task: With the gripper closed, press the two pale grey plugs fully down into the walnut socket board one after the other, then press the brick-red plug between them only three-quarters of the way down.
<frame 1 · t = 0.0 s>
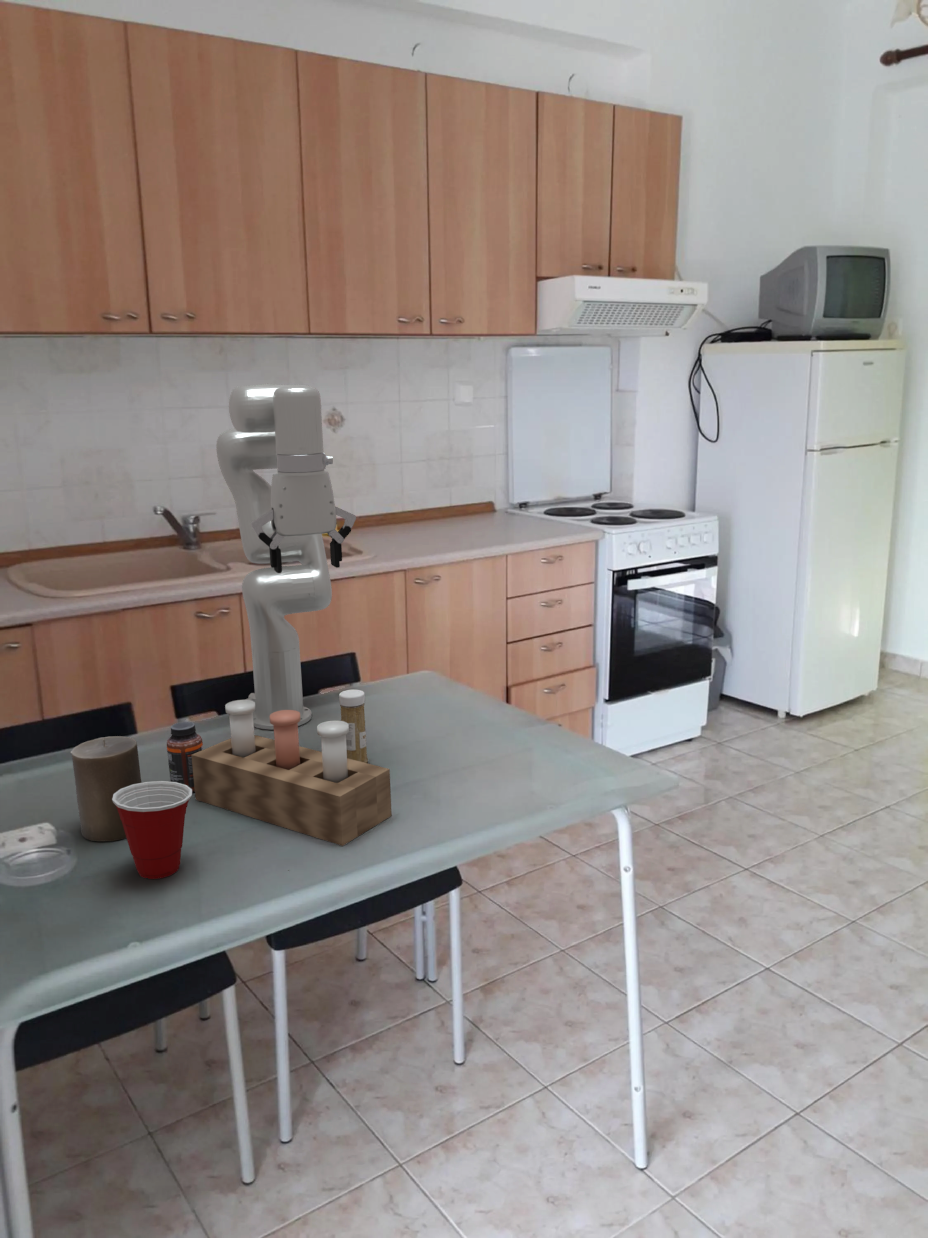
hand: (307, 568, 162), 37 cm above the table, tool pointing down, fingers open, 9 cm apart
sprinkles bottle: (355, 764, 178), on the table
brick plug: (286, 744, 157), point 11 cm above the table, slide at 0.0 cm
socket board: (291, 807, 160), on the table
plastic cup: (160, 870, 141), on the table
supplement bottle: (189, 788, 169), on the table
grey plug 2: (334, 756, 152), point 11 cm above the table, slide at 0.0 cm
pillar candle: (114, 829, 154), on the table
grey plug 1: (242, 733, 163), point 11 cm above the table, slide at 0.0 cm
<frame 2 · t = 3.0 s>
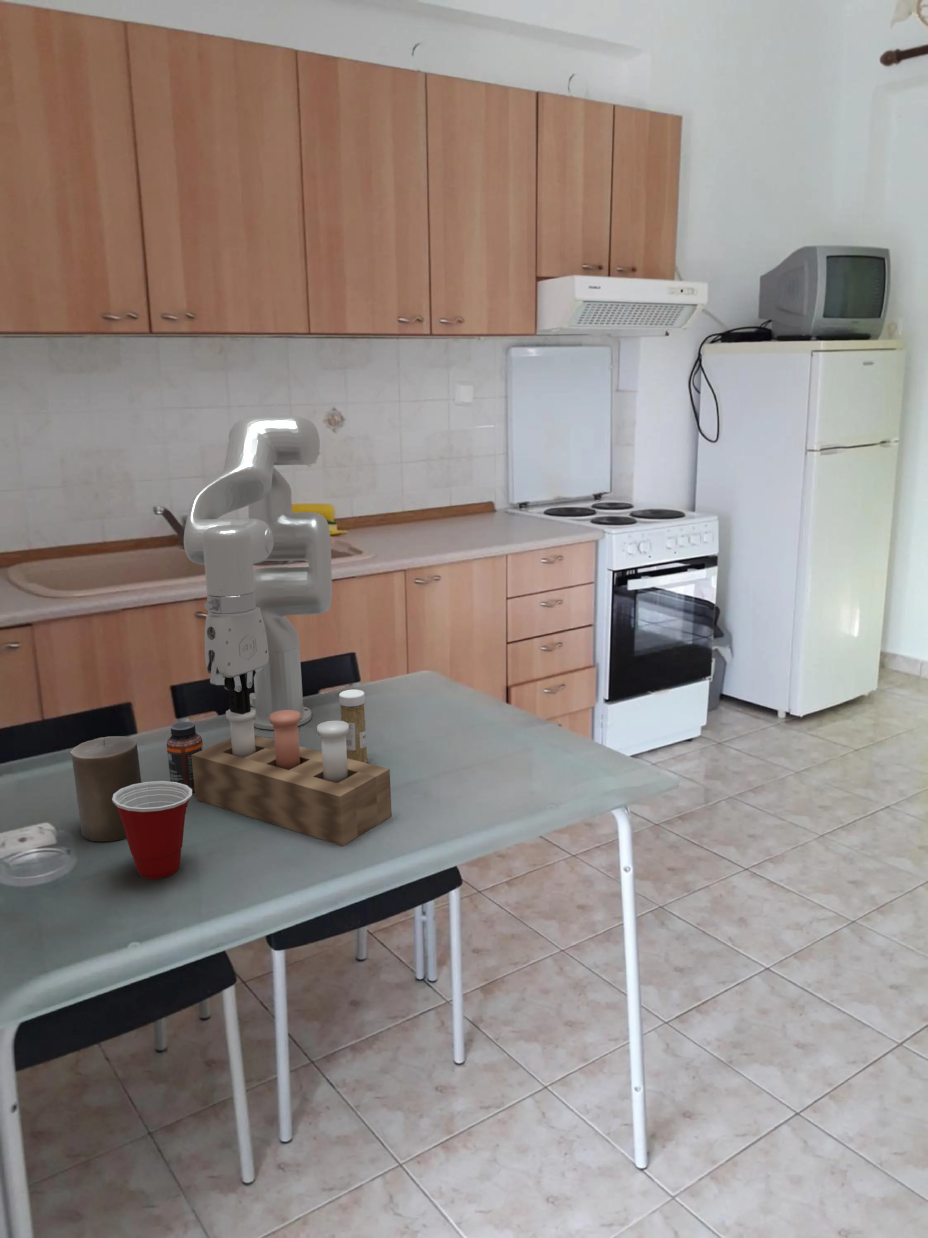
hand: (240, 711, 161), 15 cm above the table, tool pointing down, fingers closed
grey plug 1: (243, 739, 163), point 10 cm above the table, slide at 1.2 cm, touching gripper
everything else where it was.
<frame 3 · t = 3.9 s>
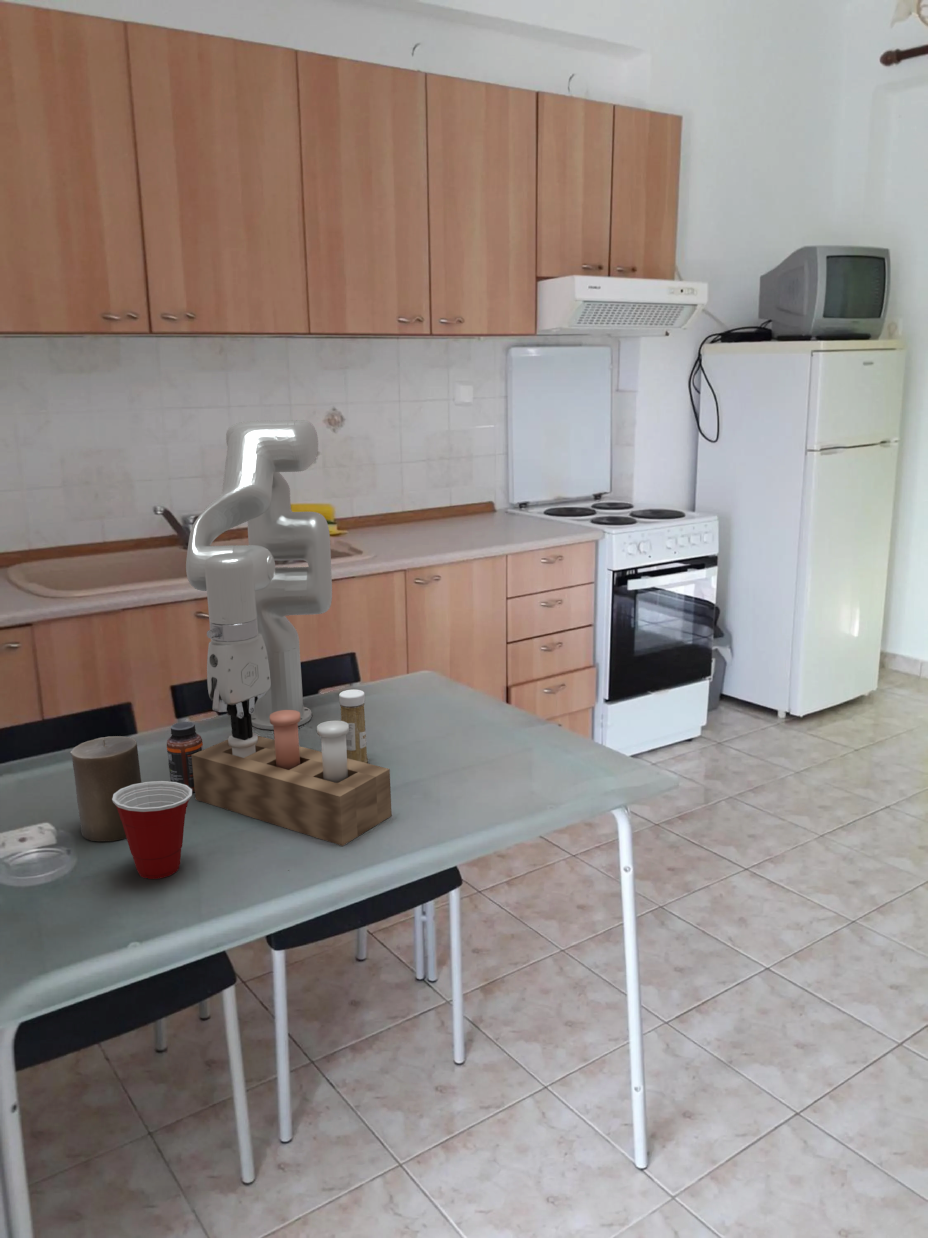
hand: (242, 737, 163), 10 cm above the table, tool pointing down, fingers closed
grey plug 1: (245, 765, 164), point 5 cm above the table, slide at 5.7 cm, touching gripper
everything else where it was.
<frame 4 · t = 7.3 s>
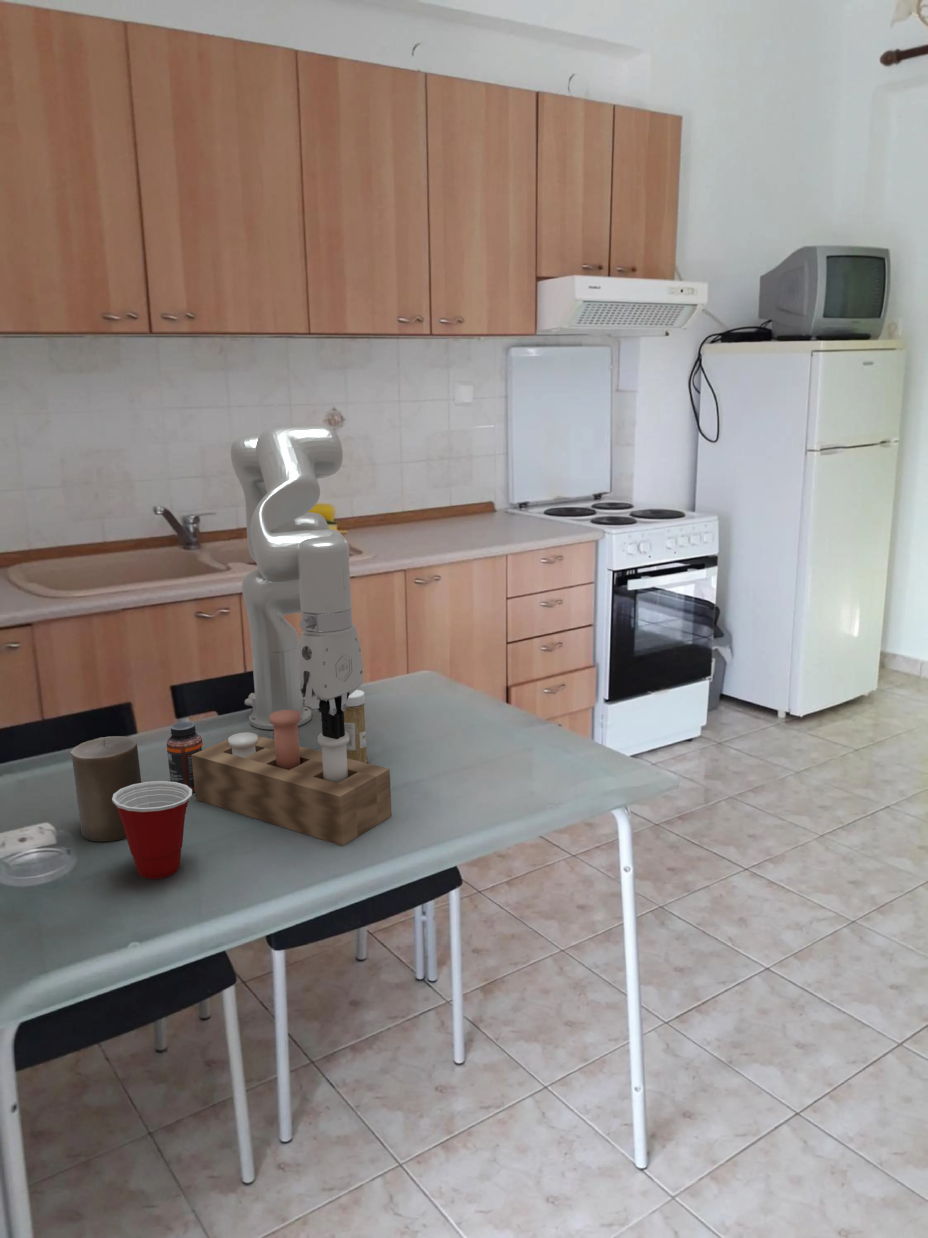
hand: (333, 736, 151), 14 cm above the table, tool pointing down, fingers closed
grey plug 2: (335, 766, 152), point 9 cm above the table, slide at 1.6 cm, touching gripper
grey plug 1: (245, 765, 164), point 5 cm above the table, slide at 5.8 cm
everything else where it was.
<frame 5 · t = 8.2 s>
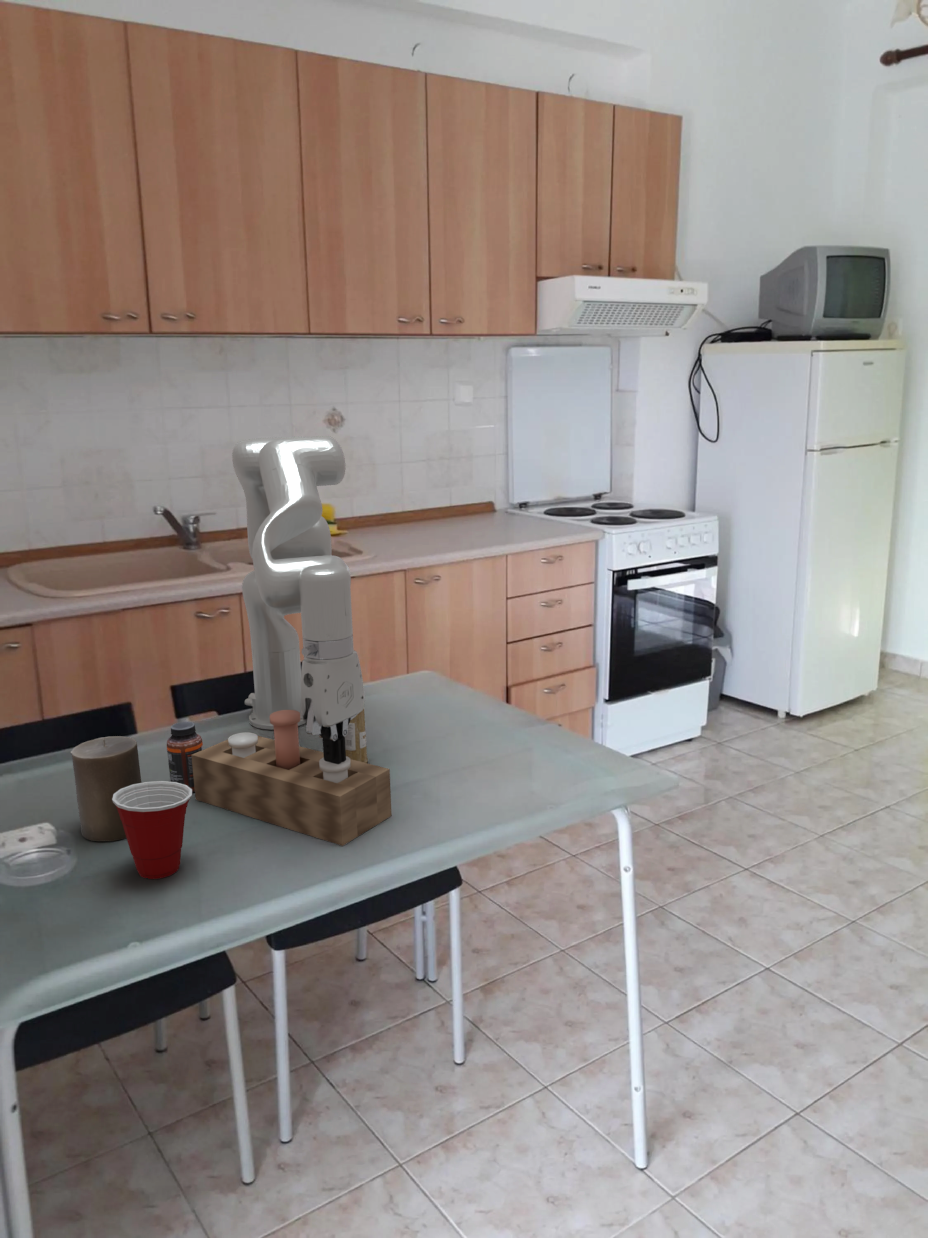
hand: (335, 760, 152), 10 cm above the table, tool pointing down, fingers closed
grey plug 2: (336, 790, 153), point 5 cm above the table, slide at 5.7 cm, touching gripper
everything else where it was.
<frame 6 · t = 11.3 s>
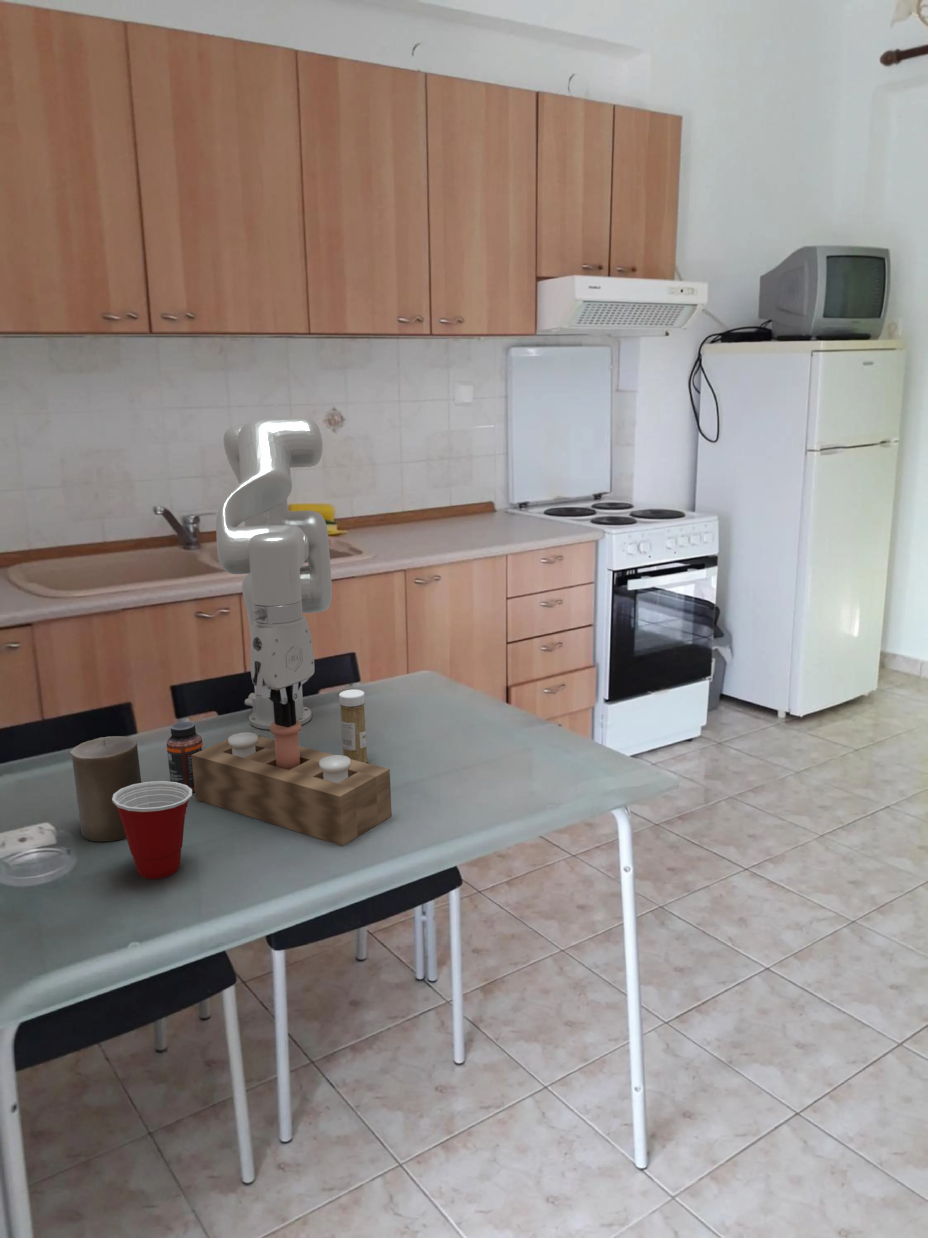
hand: (285, 724, 156), 14 cm above the table, tool pointing down, fingers closed
brick plug: (287, 753, 158), point 9 cm above the table, slide at 1.6 cm, touching gripper
grey plug 2: (336, 790, 153), point 5 cm above the table, slide at 5.8 cm
everything else where it was.
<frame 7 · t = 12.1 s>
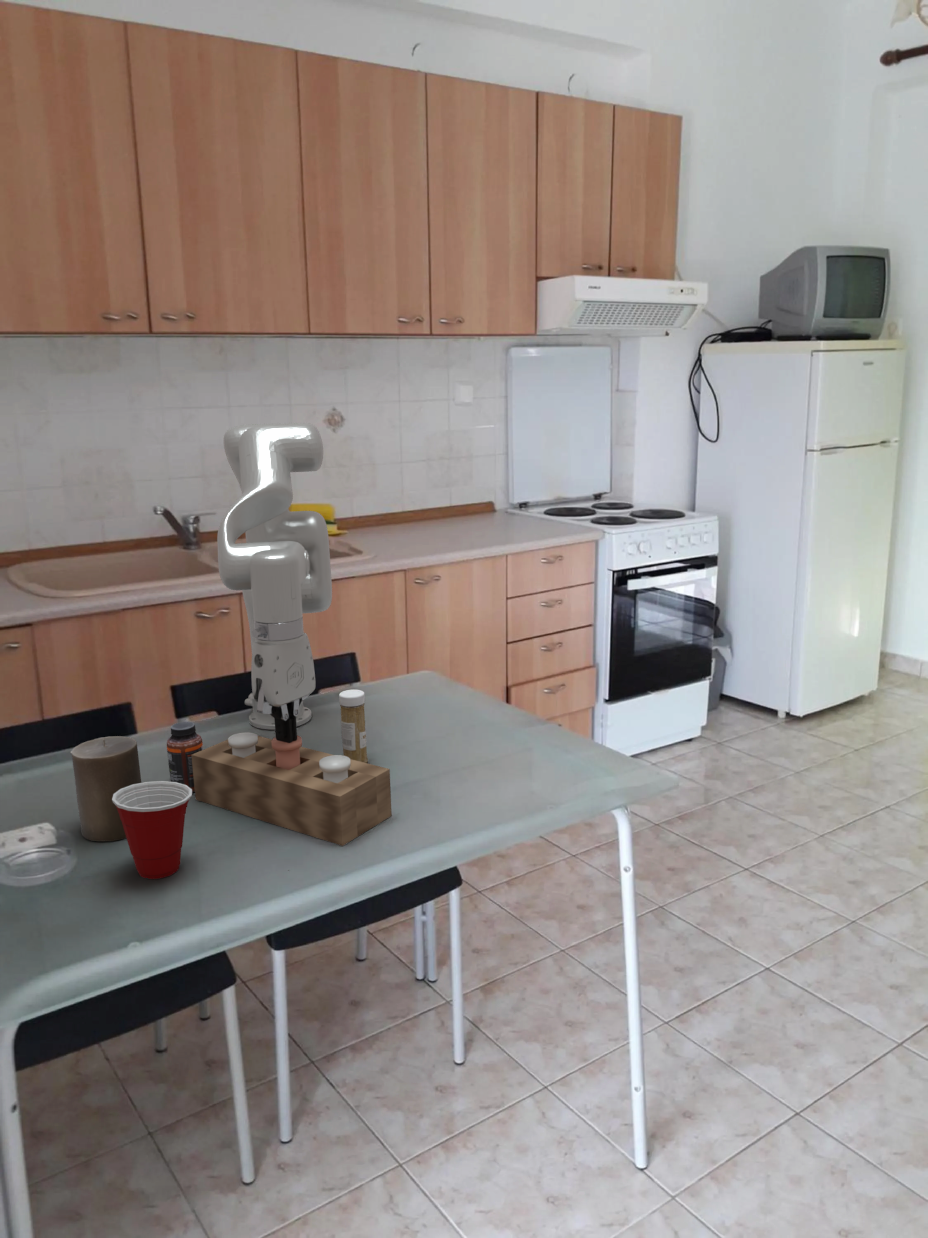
hand: (286, 740, 157), 12 cm above the table, tool pointing down, fingers closed
brick plug: (288, 768, 158), point 7 cm above the table, slide at 4.2 cm, touching gripper
everything else where it was.
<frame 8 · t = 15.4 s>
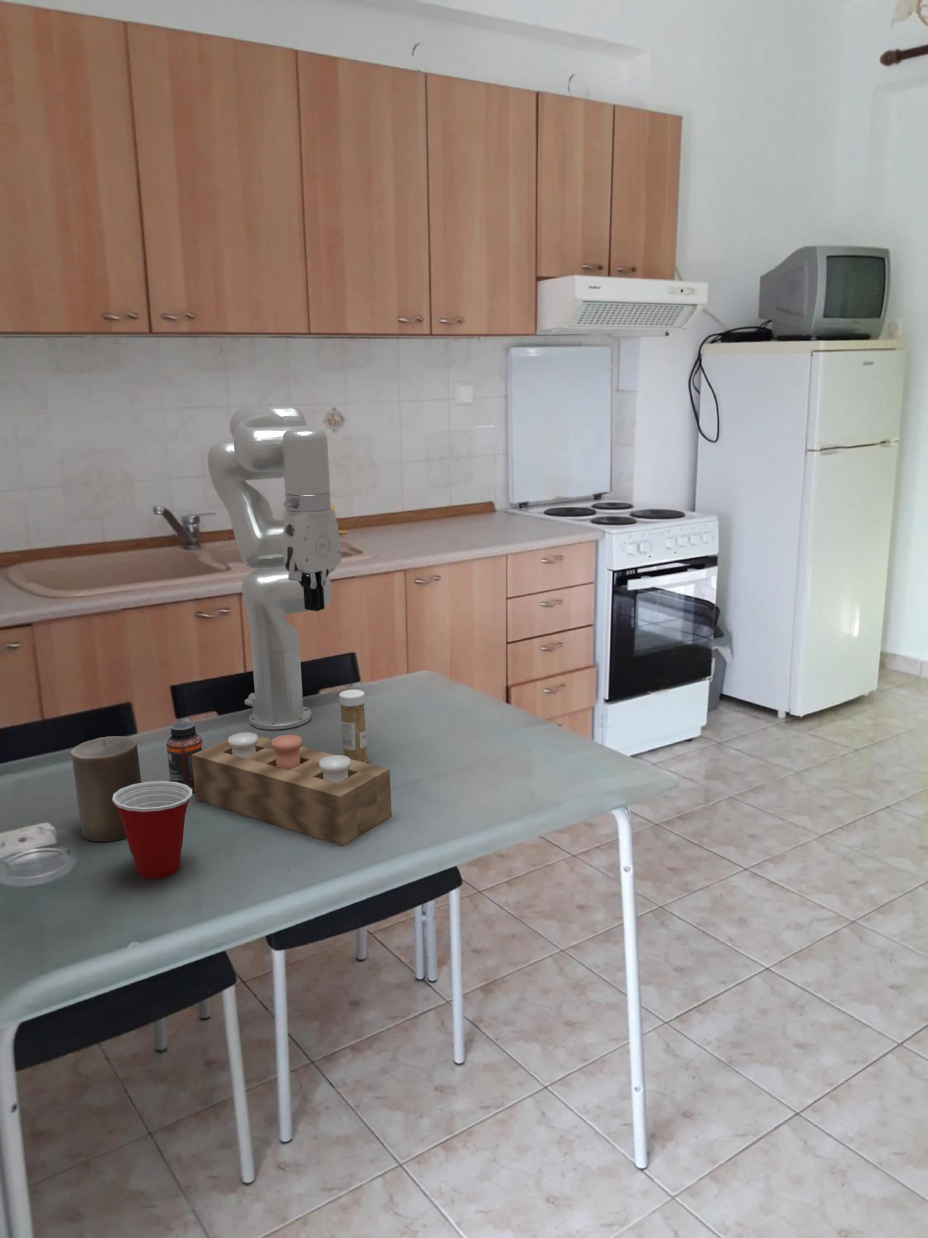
hand: (314, 609, 169), 29 cm above the table, tool pointing down, fingers closed
brick plug: (288, 769, 158), point 7 cm above the table, slide at 4.3 cm
everything else where it was.
at the end: grey plug 1 slide at 5.8 cm; grey plug 2 slide at 5.8 cm; brick plug slide at 4.3 cm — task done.
